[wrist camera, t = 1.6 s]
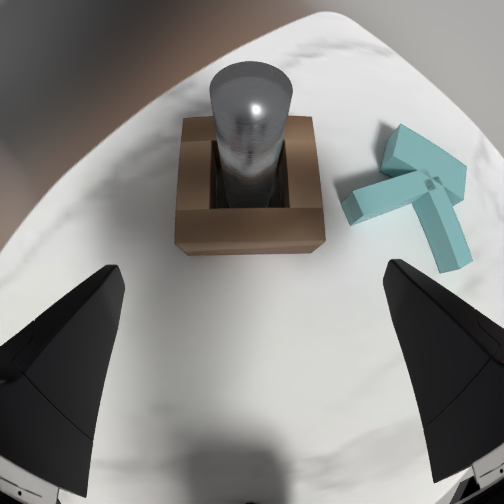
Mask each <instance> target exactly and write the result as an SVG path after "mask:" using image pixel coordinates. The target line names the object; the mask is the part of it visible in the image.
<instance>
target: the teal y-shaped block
mask: <svg viewBox="0 0 504 504" xmlns="http://www.w3.org/2000/svg"><path fill="white" fill-rule="evenodd" d="M466 170H467V166H466V165H464V164H463V163H462V162H460V161H459V160H457V159H456V158H454V157H453V156H452V155H450V154H449V153H447V152H446V151H444V150H443V149H441V148H440V147H438V146H437V145H435V144H434V143H432V142H431V141H429V140H427V139H426V138H424V137H423V136H421V135H419V134H418V133H416V132H414V131H413V130H411V129H409V128H408V127H406V126H404V125H402V124H400V125H399V126H398V128H397V129H396V130H395V131H394V133H393V134H392V135H391V136H390V138H389V139H388V142H387V146H386V149H385V153H384V157H383V160H382V164H381V167H380V171H381V172H383V173H385V174H387V175H389V176H391V177H392V178H391V179H388V180H385V181H382V182H379V183H376V184H372V185H369V186H366V187H363V188H360V189H357V190H354V191H352V192H351V193H350V194H349V195H348V197H347V198H346V199H345V200H344V201H343V202H342V203H341V206H342V208H343V210H344V212H345V215H346V217H347V219H348V221H349V224H350V226H352V225H354V224H357V223H360V222H362V221H365V220H368V219H370V218H373V217H376V216H378V215H381V214H384V213H386V212H389V211H392V210H394V209H397V208H400V207H402V206H405V205H408V204H410V203H412V204H413V206H414V208H415V211H416V213H417V215H418V218H419V220H420V222H421V225H422V227H423V229H424V232H425V234H426V237H427V239H428V242H429V245H430V247H431V250H432V252H433V255H434V258H435V261H436V263H437V266H438V269H439V272H440V273H445V272H449V271H453V270H458V269H460V268H462V267H464V266H465V265H467V264H468V263H470V262H471V261H473V259H472V256H471V253H470V250H469V247H468V245H467V242H466V239H465V236H464V234H463V231H462V229H461V226H460V224H459V221H458V219H457V216H456V214H455V211H454V209H453V207H452V206H454V205H455V204H457V203H459V202H461V201H463V200H464V192H465V182H466Z"/></svg>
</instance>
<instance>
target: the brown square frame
mask: <svg viewBox="0 0 504 504" xmlns="http://www.w3.org/2000/svg"><path fill="white" fill-rule="evenodd" d="M277 167H279V180H280V197H281V208H230V209H216V181H217V168H222V167H221V161H220V154H219V148H218V142H217V136H216V130H215V123H214V117H213V116H208V117H192V118H183V127H182V136H181V147H180V157H179V170H178V183H177V198H176V217H175V242H174V243H175V244H176V245H177V246H178V247H179V248H180V249H181V250H182V251H183V252H184V253H186V254H187V255H188V256H190V255H246V254H299V253H312V252H313V251H314V250H315V249H317V248H318V247H319V246H320V245H321V244H322V243H324V242H325V241H326V238H325V225H324V214H323V203H322V193H321V184H320V175H319V166H318V158H317V151H316V143H315V136H314V129H313V122H312V117H307V116H288V117H287V122H286V126H285V131H284V136H283V140H282V145H281V150H280V154H279V159H278V164H277Z"/></svg>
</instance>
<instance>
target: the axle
mask: <svg viewBox="0 0 504 504" xmlns="http://www.w3.org/2000/svg"><path fill="white" fill-rule="evenodd" d="M292 93H293V89H292V84H291V82H290V80H289V78H288V77H287V76H286V75H285V74H284V73H283V72H282V71H281V70H279V69H278V68H276V67H274V66H272V65H269V64H266V63H262V62H254V61H246V62H239V63H235V64H232V65H229V66H227V67H225V68H224V69H222V70H221V71H219V72H218V73H217V74H216V75H215V76H214V78H213V79H212V81H211V84H210V98H211V104H212V111H213V117H214V123H215V130H216V136H217V142H218V148H219V154H220V161H221V167H222V173H223V179H224V185H225V191H226V197H227V202H228V204H229V206H230V208H266V207H267V206H268V204H269V200H270V196H271V191H272V187H273V182H274V177H275V173H276V168H277V164H278V159H279V154H280V150H281V145H282V140H283V136H284V131H285V126H286V122H287V117H288V112H289V108H290V103H291V98H292Z"/></svg>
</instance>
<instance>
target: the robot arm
mask: <svg viewBox="0 0 504 504" xmlns="http://www.w3.org/2000/svg"><path fill="white" fill-rule="evenodd" d="M383 286H384V290H385V294H386V298H387V302H388V306H389V310H390V314H391V318H392V322H393V325H394V328H395V331H396V334H397V337H398V340H399V343H400V346H401V349H402V352H403V356H404V359H405V362H406V365H407V369H408V372H409V375H410V379H411V382H412V386H413V390H414V393H415V397H416V401H417V405H418V409H419V413H420V417H421V421H422V425H423V429H424V430H423V431H424V435H425V440H426V445H427V449H428V455H429V460H430V465H431V471H432V477H433V482H434V483H437V482H439V481H441V480H443V479H446V478H448V477H450V476H452V475H454V474H456V473H459V472H461V471H463V470H465V469H467V468H469V467H470V466H472V470H473V473H474V476H472V477H470V478H468V479H466V480H464V481H462V482H460V484H459V486H458V488H457V490H456V492H455V494H454V496H453V498H452V500H451V502H450V504H504V328H502V327H501V326H499V325H498V324H496V323H495V322H493V321H492V320H490V319H489V318H487V317H486V316H485V315H483V314H482V313H480V312H479V311H478V310H476V309H474V308H473V307H472V306H471V305H469V304H468V303H466V302H465V301H464V300H462V299H461V298H459V297H458V296H456V295H455V294H453V293H452V292H451V291H449V290H448V289H446V288H445V287H443V286H442V285H440V284H439V283H437V282H436V281H434V280H433V279H431V278H430V277H428V276H427V275H425V274H424V273H422V272H420V271H419V270H417V269H416V268H414V267H413V266H411V265H410V264H408V263H406V262H405V261H403V260H402V259H391V260H390V261H389V262H388V265H387V268H386V271H385V274H384V278H383ZM124 292H125V284H124V281H123V278H122V275H121V272H120V269H119V267H118V265H105V266H104V267H102V268H101V269H100V270H98V271H97V272H95V273H94V274H93V275H91V276H90V277H89V278H87V279H86V280H85V281H83V282H82V283H81V284H79V285H78V286H77V287H75V288H74V289H73V290H71V291H70V292H69V293H67V294H66V295H65V296H63V297H62V298H61V299H60V300H58V301H57V302H56V303H54V304H53V305H52V306H51V307H49V308H48V309H47V310H46V311H44V312H43V313H42V314H41V315H39V316H38V317H37V318H36V319H35V321H32V322H31V323H30V324H28V325H27V326H26V327H25V328H23V329H22V330H21V331H20V332H19V333H17V334H16V335H15V336H13V337H12V338H11V339H9V340H8V341H7V342H6V343H4V344H3V345H2V346H0V504H61V503H60V501H59V499H58V493H59V489H62V490H64V491H67V492H70V493H73V494H75V495H78V496H81V497H84V498H86V496H87V488H88V478H89V469H90V461H91V454H92V447H93V440H94V433H95V427H96V422H97V416H98V411H99V406H100V401H101V396H102V391H103V387H104V382H105V378H106V373H107V369H108V365H109V361H110V357H111V353H112V349H113V345H114V342H115V338H116V334H117V330H118V325H119V320H120V314H121V308H122V302H123V297H124ZM246 504H255V503H252V502H249V503H246Z"/></svg>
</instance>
